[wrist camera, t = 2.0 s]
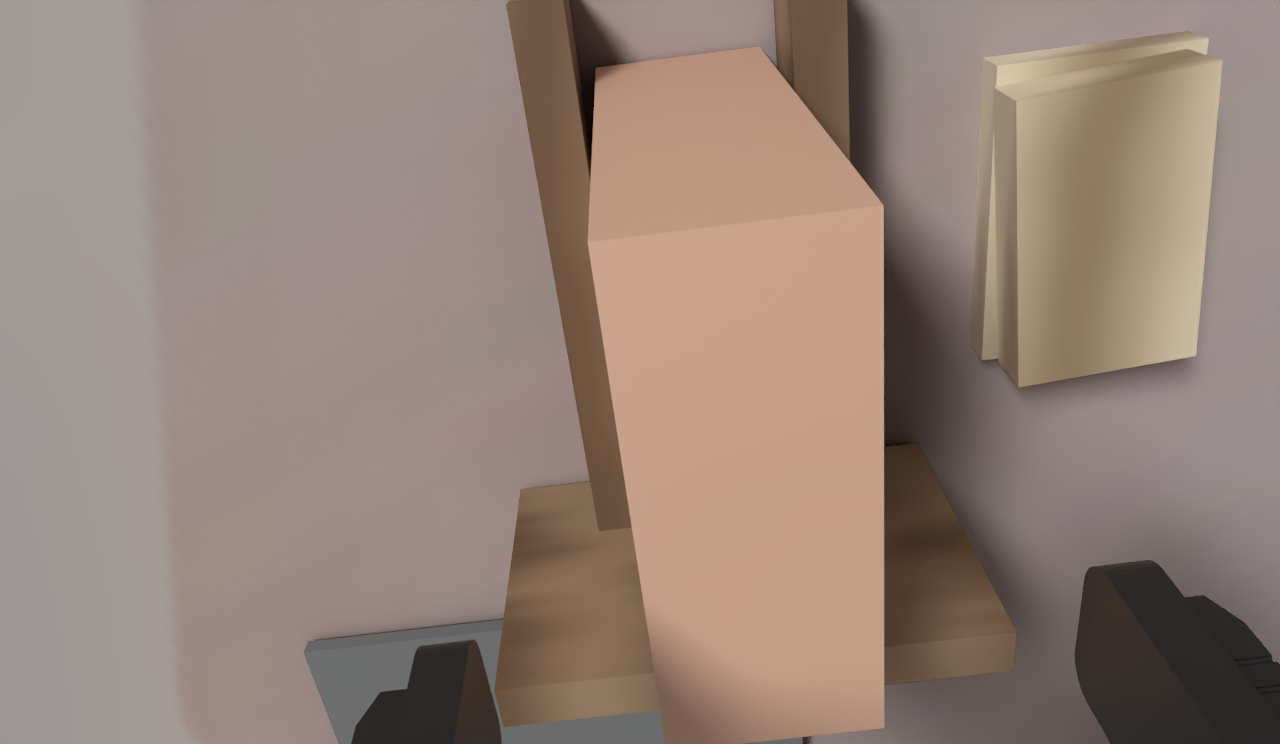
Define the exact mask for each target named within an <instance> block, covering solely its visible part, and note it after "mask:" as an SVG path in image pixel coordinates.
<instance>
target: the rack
mask: <svg viewBox="0 0 1280 744" xmlns="http://www.w3.org/2000/svg"><path fill="white" fill-rule="evenodd" d="M506 6H507V11H508V17H509V23H510V28H511V34H512V40H513V45H514V51H515V57H516V63H517V68H518V74H519V80H520V85H521V91H522V97H523V102H524V108H525V114H526V119H527V125H528V131H529V137H530V142H531V148H532V154H533V159H534V165H535V171H536V176H537V182H538V188H539V193H540V199H541V205H542V211H543V216H544V222H545V228H546V233H547V239H548V245H549V250H550V256H551V262H552V267H553V273H554V279H555V285H556V290H557V296H558V302H559V307H560V313H561V319H562V324H563V330H564V336H565V341H566V347H567V353H568V359H569V364H570V370H571V376H572V381H573V387H574V393H575V398H576V404H577V410H578V415H579V421H580V427H581V433H582V438H583V444H584V450H585V455H586V461H587V467H588V472H589V478H590V482H581V483H573V484H564V485H556V486H547V487H539V488H530V489H522V490H521V493H520V500H519V508H518V515H517V523H516V530H515V538H514V545H513V553H512V560H511V568H510V575H509V583H508V590H507V598H506V605H505V613H504V620H503V628H502V635H501V643H500V650H499V657H498V665H497V672H496V680H495V687H494V692H495V696H496V700H497V704H498V707H499V711H500V715H501V719H502V722H503V726H504V727H510V726H519V725H528V724H537V723H546V722H555V721H564V720H573V719H582V718H591V717H600V716H609V715H618V714H627V713H636V712H645V711H655V710H660V706H659V699H658V693H657V687H656V680H655V674H654V667H653V661H652V654H651V648H650V641H649V635H648V629H647V622H646V616H645V609H644V603H643V596H642V590H641V583H640V577H639V571H638V564H637V558H636V551H635V545H634V538H633V532H632V525H631V519H630V513H629V506H628V500H627V493H626V487H625V480H624V474H623V467H622V461H621V455H620V448H619V442H618V435H617V429H616V422H615V416H614V409H613V403H612V397H611V390H610V384H609V377H608V371H607V364H606V358H605V351H604V345H603V339H602V332H601V326H600V319H599V313H598V306H597V300H596V293H595V287H594V281H593V274H592V268H591V261H590V255H589V248H588V223H589V202H590V180H591V159H592V152H591V145H590V139H589V132H588V125H587V118H586V111H585V104H584V98H583V91H582V84H581V77H580V70H579V63H578V57H577V50H576V43H575V36H574V29H573V22H572V16H571V9H570V2H569V0H509V1H508V3H507V4H506ZM774 17H775V36H776V55H777V70H778V71H779V72H780V74H781V75H782V76H783V77H784V79H785V80H786V81H787V83H788V84H789V85H790V86H791V88H792V89H793V90H794V91H795V93H796V94H797V95H798V97H799V98H800V99H801V100H802V102H803V103H804V104H805V105H806V107H807V108H808V109H809V111H810V112H811V113H812V114H813V116H814V117H815V118H816V120H817V121H818V122H819V123H820V125H821V126H822V127H823V128H824V130H825V131H826V132H827V134H828V135H829V136H830V137H831V139H832V140H833V141H834V142H835V144H836V145H837V146H838V148H839V149H840V150H841V151H842V153H843V154H844V155H845V157H846V158H847V159H848V160H849V162H850V132H849V76H848V21H847V0H774ZM1016 637H1017V632H1016V630H1015V628H1014V626H1013V624H1012V622H1011V620H1010V618H1009V616H1008V614H1007V613H1006V611H1005V609H1004V607H1003V605H1002V603H1001V601H1000V599H999V597H998V595H997V593H996V592H995V590H994V588H993V586H992V584H991V582H990V580H989V578H988V576H987V574H986V573H985V571H984V569H983V567H982V565H981V563H980V561H979V559H978V557H977V555H976V554H975V552H974V550H973V548H972V546H971V544H970V542H969V540H968V538H967V536H966V535H965V533H964V531H963V529H962V527H961V525H960V523H959V521H958V519H957V517H956V516H955V514H954V512H953V510H952V508H951V506H950V504H949V502H948V500H947V498H946V497H945V495H944V493H943V491H942V489H941V487H940V485H939V483H938V481H937V479H936V478H935V476H934V474H933V472H932V470H931V468H930V466H929V464H928V462H927V460H926V459H925V457H924V455H923V453H922V451H921V449H920V447H919V445H918V443H912V444H904V445H895V446H887V447H884V685H890V684H899V683H908V682H917V681H926V680H935V679H944V678H953V677H962V676H971V675H980V674H989V673H999V672H1008V671H1014V661H1015V649H1016Z"/></svg>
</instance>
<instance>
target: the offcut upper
mask: <svg viewBox="0 0 1280 744" xmlns="http://www.w3.org/2000/svg"><path fill="white" fill-rule="evenodd" d="M1222 62H1223V60H1220V59H1217V58H1214V57H1211V56H1208V55H1205V54H1202V53H1199V52H1196V51H1193V50H1190V49H1183V50H1178V51H1173V52H1168V53H1163V54H1158V55H1153V56H1148V57H1143V58H1138V59H1133V60H1128V61H1123V62H1118V63H1113V64H1108V65H1103V66H1098V67H1093V68H1087V69H1082V70H1077V71H1072V72H1067V73H1062V74H1057V75H1052V76H1047V77H1042V78H1037V79H1032V80H1027V81H1022V82H1017V83H1012V84H1007V85H1002V86H997V87H993V108H994V161H995V214H996V268H997V321H998V362H999V363H1000V364H1001V366H1002V367H1003V368H1004V370H1005V371H1006V372H1007V373H1008V375H1009V376H1010V377H1011V379H1012V380H1013V381H1014V382H1015V384H1016V385H1017V386H1018V388H1019V387H1025V386H1031V385H1036V384H1042V383H1047V382H1053V381H1059V380H1064V379H1070V378H1076V377H1081V376H1087V375H1092V374H1098V373H1104V372H1109V371H1115V370H1120V369H1126V368H1132V367H1137V366H1143V365H1148V364H1154V363H1160V362H1165V361H1171V360H1176V359H1182V358H1188V357H1193V356H1196V350H1197V339H1198V328H1199V317H1200V306H1201V295H1202V284H1203V273H1204V261H1205V250H1206V239H1207V228H1208V217H1209V206H1210V195H1211V184H1212V173H1213V162H1214V151H1215V140H1216V129H1217V118H1218V106H1219V95H1220V84H1221V73H1222Z"/></svg>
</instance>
